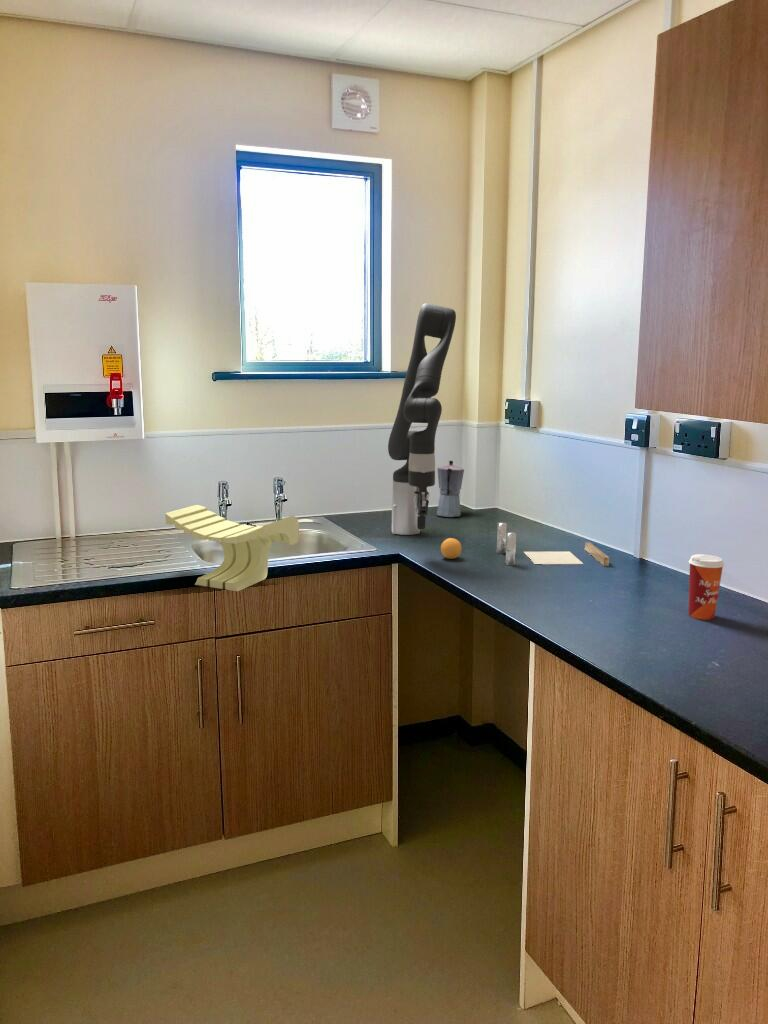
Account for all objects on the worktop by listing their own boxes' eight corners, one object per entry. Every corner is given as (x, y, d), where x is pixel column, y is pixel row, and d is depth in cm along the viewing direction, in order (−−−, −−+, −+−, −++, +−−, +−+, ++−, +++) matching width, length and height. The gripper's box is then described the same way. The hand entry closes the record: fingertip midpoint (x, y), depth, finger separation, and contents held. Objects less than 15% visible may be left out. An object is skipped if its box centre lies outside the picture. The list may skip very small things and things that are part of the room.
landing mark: (534, 564, 236) (534, 563, 236) (523, 552, 250) (523, 551, 250) (583, 564, 237) (583, 563, 237) (569, 552, 251) (569, 551, 251)
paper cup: (701, 623, 188) (706, 563, 186) (676, 613, 195) (681, 555, 192) (727, 619, 191) (733, 560, 189) (702, 609, 198) (707, 552, 196)
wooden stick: (603, 566, 236) (604, 557, 235) (584, 550, 253) (585, 542, 253) (608, 566, 236) (609, 557, 235) (589, 550, 253) (590, 542, 253)
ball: (442, 561, 239) (442, 540, 237) (439, 555, 245) (439, 536, 243) (462, 561, 239) (463, 540, 238) (459, 555, 245) (460, 536, 244)
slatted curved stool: (299, 579, 218) (298, 513, 215) (266, 596, 204) (265, 525, 201) (205, 565, 231) (203, 502, 227) (168, 580, 216) (165, 513, 213)
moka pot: (462, 512, 308) (464, 458, 304) (462, 520, 293) (464, 464, 289) (436, 511, 309) (438, 457, 305) (435, 520, 294) (436, 463, 290)
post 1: (497, 553, 248) (498, 524, 246) (495, 551, 250) (496, 522, 249) (506, 553, 248) (507, 524, 246) (504, 551, 251) (505, 522, 249)
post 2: (506, 565, 235) (508, 534, 233) (504, 563, 238) (506, 532, 236) (515, 565, 235) (517, 534, 233) (513, 562, 238) (515, 532, 236)
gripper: (406, 465, 242) (405, 524, 245) (411, 472, 229) (410, 533, 232) (431, 465, 243) (431, 523, 246) (438, 472, 230) (437, 533, 233)
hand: (421, 528), depth 239 cm, fingers closed
